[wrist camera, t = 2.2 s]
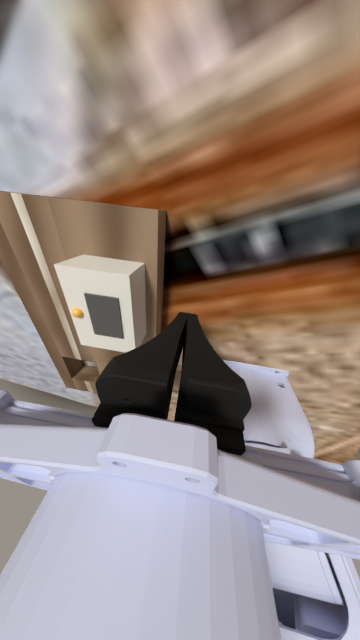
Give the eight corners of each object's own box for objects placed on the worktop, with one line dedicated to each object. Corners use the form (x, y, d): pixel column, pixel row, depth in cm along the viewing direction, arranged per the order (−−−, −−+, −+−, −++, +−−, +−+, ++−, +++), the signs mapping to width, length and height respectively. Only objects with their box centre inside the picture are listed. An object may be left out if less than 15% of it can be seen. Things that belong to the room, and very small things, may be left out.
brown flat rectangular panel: (166, 210, 12) (158, 210, 10) (159, 389, 26) (154, 404, 24) (0, 191, 13) (-38, 187, 11) (77, 373, 27) (66, 387, 25)
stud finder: (144, 263, 12) (126, 277, 10) (146, 333, 16) (134, 357, 14) (83, 254, 13) (48, 266, 10) (99, 325, 17) (78, 348, 14)
